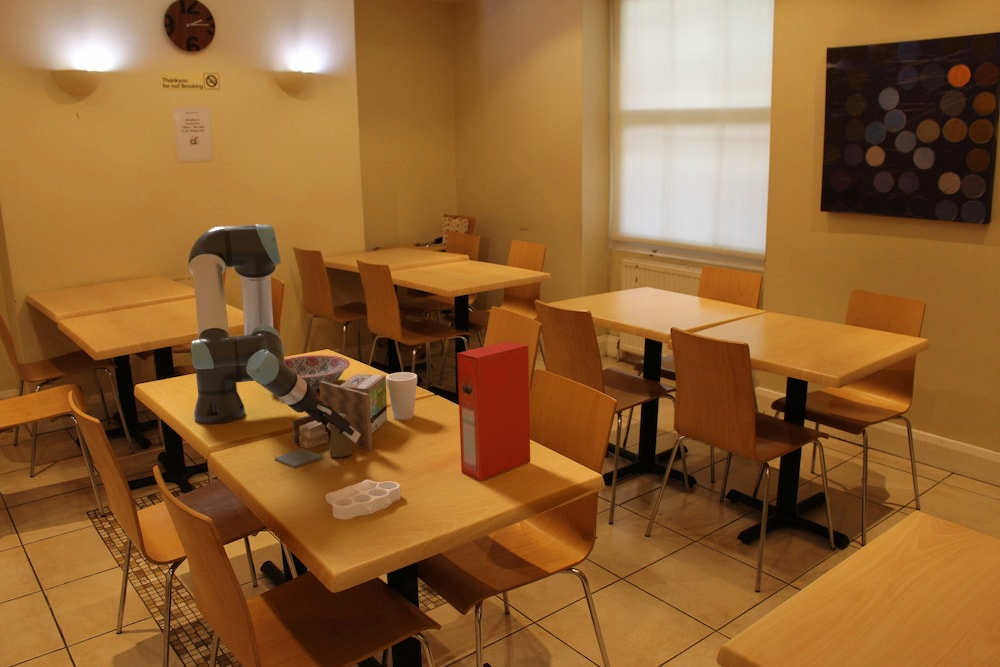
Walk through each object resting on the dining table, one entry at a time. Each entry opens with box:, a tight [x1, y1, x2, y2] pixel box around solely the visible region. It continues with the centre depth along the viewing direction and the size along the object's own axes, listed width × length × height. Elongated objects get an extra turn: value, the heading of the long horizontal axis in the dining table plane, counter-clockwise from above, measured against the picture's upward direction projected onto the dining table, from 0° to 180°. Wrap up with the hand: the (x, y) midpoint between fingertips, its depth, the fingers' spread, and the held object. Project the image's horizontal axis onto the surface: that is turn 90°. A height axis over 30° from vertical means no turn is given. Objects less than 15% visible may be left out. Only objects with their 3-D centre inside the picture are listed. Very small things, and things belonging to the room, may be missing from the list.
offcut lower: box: [299, 432, 329, 449], centre depth 235 cm, size 4×7×3 cm, turn 136°
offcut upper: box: [299, 420, 325, 439], centre depth 234 cm, size 4×6×3 cm, turn 147°
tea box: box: [339, 373, 388, 434], centre depth 246 cm, size 15×10×15 cm
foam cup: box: [386, 371, 418, 421], centre depth 255 cm, size 10×9×13 cm
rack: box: [290, 381, 373, 451], centre depth 231 cm, size 21×12×16 cm, turn 49°
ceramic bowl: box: [284, 354, 351, 390], centre depth 289 cm, size 29×29×8 cm
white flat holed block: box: [325, 479, 402, 520], centre depth 195 cm, size 3×18×15 cm
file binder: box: [456, 340, 531, 482], centre depth 211 cm, size 8×17×32 cm, turn 133°
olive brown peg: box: [329, 413, 353, 458], centre depth 224 cm, size 6×6×11 cm
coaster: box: [274, 448, 323, 469], centre depth 223 cm, size 9×9×1 cm
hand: (350, 435), depth 227 cm, fingers closed on olive brown peg, 5 cm apart
